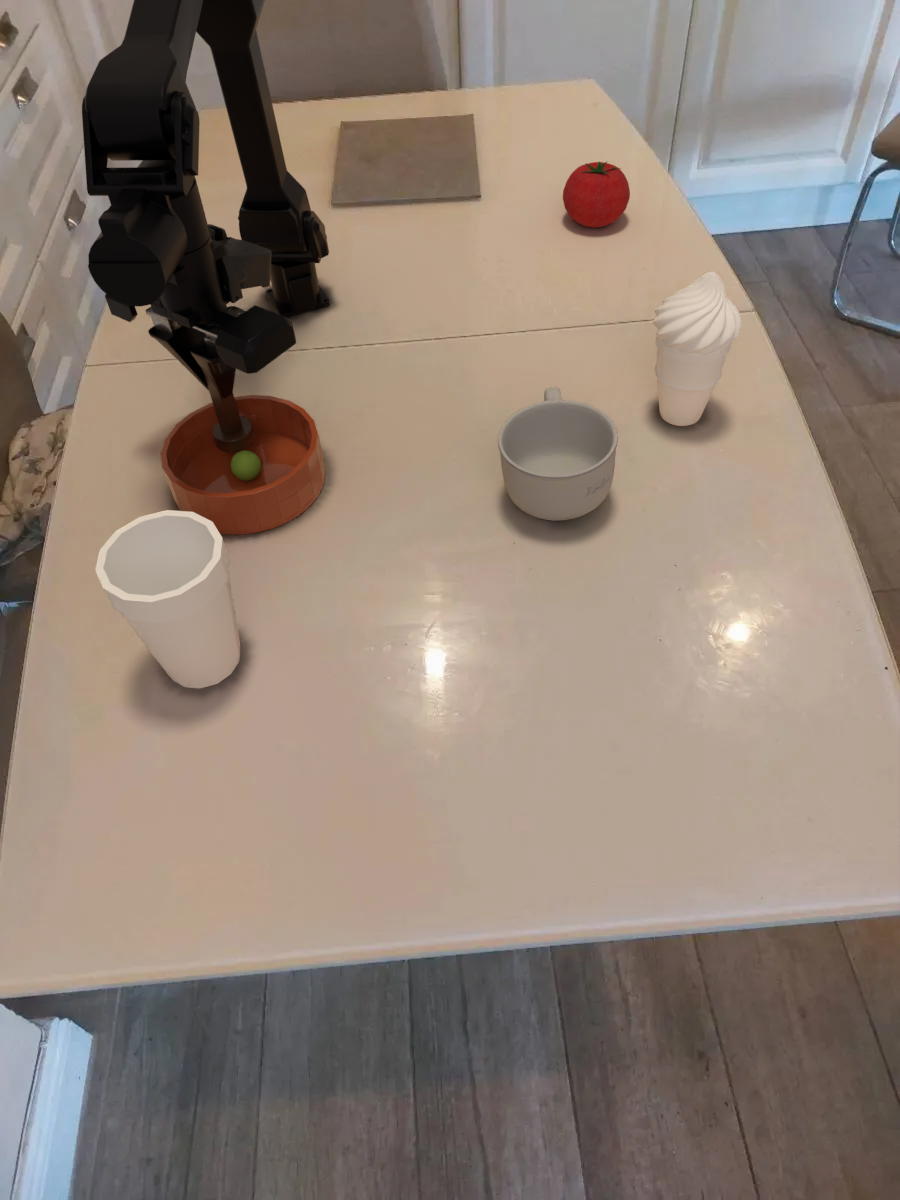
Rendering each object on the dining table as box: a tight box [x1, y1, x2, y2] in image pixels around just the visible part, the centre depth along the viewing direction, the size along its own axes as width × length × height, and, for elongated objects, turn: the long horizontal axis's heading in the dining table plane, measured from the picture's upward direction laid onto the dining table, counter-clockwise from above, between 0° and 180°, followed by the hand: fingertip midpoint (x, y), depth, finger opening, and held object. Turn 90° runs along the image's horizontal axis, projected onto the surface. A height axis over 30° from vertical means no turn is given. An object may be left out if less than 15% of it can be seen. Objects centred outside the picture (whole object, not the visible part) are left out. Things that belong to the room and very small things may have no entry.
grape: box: [231, 451, 261, 481], centre depth 91 cm, size 3×3×3 cm
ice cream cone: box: [652, 271, 742, 427], centre depth 90 cm, size 8×8×16 cm
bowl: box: [159, 394, 326, 536], centre depth 90 cm, size 15×15×5 cm
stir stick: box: [203, 371, 255, 453], centre depth 89 cm, size 4×4×10 cm
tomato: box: [562, 161, 631, 228], centre depth 120 cm, size 9×9×8 cm
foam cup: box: [94, 509, 241, 689], centre depth 73 cm, size 10×9×13 cm
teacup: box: [497, 386, 619, 522], centre depth 87 cm, size 14×11×8 cm
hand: (220, 392), depth 88 cm, fingers closed on stir stick
